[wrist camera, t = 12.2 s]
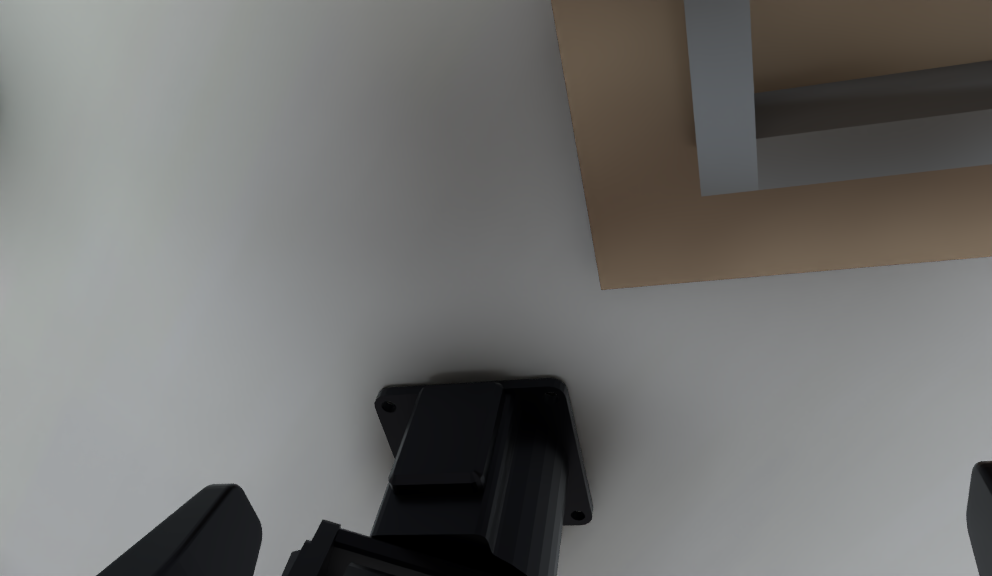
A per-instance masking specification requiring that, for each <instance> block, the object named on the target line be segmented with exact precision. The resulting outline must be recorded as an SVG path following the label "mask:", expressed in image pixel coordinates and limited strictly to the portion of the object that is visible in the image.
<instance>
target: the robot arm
mask: <svg viewBox="0 0 992 576" xmlns="http://www.w3.org/2000/svg"><path fill="white" fill-rule="evenodd" d="M548 392H552V393H555V394H556V395H555V396H550V395H548V394H546V393H548ZM387 401H390V402H392V403H394V404H395V405H393V404H389V403H388V402H387ZM374 404H375V409H376V411H377V414H378V417H379V419H380V422H381V424H382V427H383V429H384V432H385V435H386V437H387V440H388V442H389V445H390V448H391V450H392V453H393V455H394V458H395V461H394V464H393V467H392V470H391V472H390V475H389V483H388V486H387V489H386V491H385V494H384V497H383V500H382V503H381V505H380V508H379V511H378V514H377V517H376V520H375V522H374V525H373V528H372V531H371V534H370V536H369V537H368V536H365V535H362V534H359V533H355V532H352V531H349V530H345V529H342V528H341V525H340V524H337V523H333V522H330V521H327V520H322V522H321V524H320V526H319V528H318V530H317V532H316V533H315V535H314V537H313V539H312V541H309V540H306V541H305V543H304V545H303V547H302V549H301V550H298V551H294V552H292V553H291V556H290V558H289V560H288V562H287V565H286V567H285V569H284V571H283V574H282V576H557V568H558V559H559V551H560V543H561V534H562V526H563V525H585V524H587V523H589V522H590V521H591V520H592V511H593V505H592V500H591V496H590V491H589V487H588V482H587V477H586V473H585V468H584V464H583V459H582V454H581V450H580V445H579V441H578V436H577V432H576V427H575V422H574V418H573V413H572V409H571V404H570V399H569V395H568V390H567V388H566V385H565V384H564V383H563V382H562V381H560V380H558V379H554V378H541V379H524V380H507V381H491V382H474V383H457V384H441V385H424V386H407V387H390V388H384V389H382V390H381V391H379V394H378V396H377V398H376V401H375V403H374ZM578 511H581V512H578ZM966 520H967V528H968V533H969V537H970V541H971V545H972V549H973V553H974V556H975V560H976V564H977V568H978V572H979V575H980V576H992V461H981V462H978V463H976V464H975V465H974V467H973V469H972V474H971V482H970V489H969V496H968V504H967V512H966ZM261 541H262V527H261V523H260V520H259V519H258V517H257V515H256V513H255V511H254V509H253V508H252V506H251V504H250V502H249V500H248V498H247V496H246V495H245V493H244V491H243V489H242V488H241V487H240V486H238V485H237V484H212V485H209V486H206V487H205V488H204V489H202V490H201V491H200V492H198V493H197V494H196V495H195V496H194V497H192V498H191V499H190V500H189V501H187V502H186V503H185V504H184V505H183V506H181V507H180V508H179V509H178V510H176V511H175V512H174V513H173V514H171V515H170V516H169V517H168V518H167V519H165V520H164V521H163V522H162V523H160V524H159V525H158V526H157V527H155V528H154V529H153V530H152V531H151V532H149V533H148V534H147V535H146V536H144V537H143V538H142V539H141V540H140V541H138V542H137V543H136V544H135V545H133V546H132V547H131V548H130V549H128V550H127V551H126V552H125V553H124V554H122V555H121V556H120V557H119V558H117V559H116V560H115V561H114V562H112V563H111V564H110V565H109V566H108V567H106V568H105V569H104V570H103V571H101V572H100V573H99V574H98V575H97V576H253V574H254V570H255V566H256V562H257V558H258V554H259V550H260V546H261Z"/></svg>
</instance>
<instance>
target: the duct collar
mask: <svg viewBox="0 0 992 576" xmlns="http://www.w3.org/2000/svg"><path fill="white" fill-rule="evenodd" d="M551 4H552V10H553V15H554V21H555V27H556V33H557V38H558V44H559V50H560V56H561V61H562V67H563V73H564V78H565V84H566V90H567V96H568V101H569V107H570V113H571V119H572V124H573V130H574V136H575V142H576V147H577V153H578V159H579V165H580V170H581V176H582V182H583V188H584V193H585V199H586V205H587V211H588V216H589V222H590V228H591V234H592V239H593V245H594V251H595V257H596V262H597V268H598V274H599V280H600V285H601V290H607V289H618V288H630V287H642V286H653V285H665V284H676V283H688V282H700V281H711V280H723V279H735V278H746V277H758V276H769V275H781V274H793V273H804V272H816V271H828V270H839V269H851V268H862V267H874V266H886V265H897V264H909V263H921V262H932V261H944V260H955V259H967V258H979V257H990V256H992V0H551Z"/></svg>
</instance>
